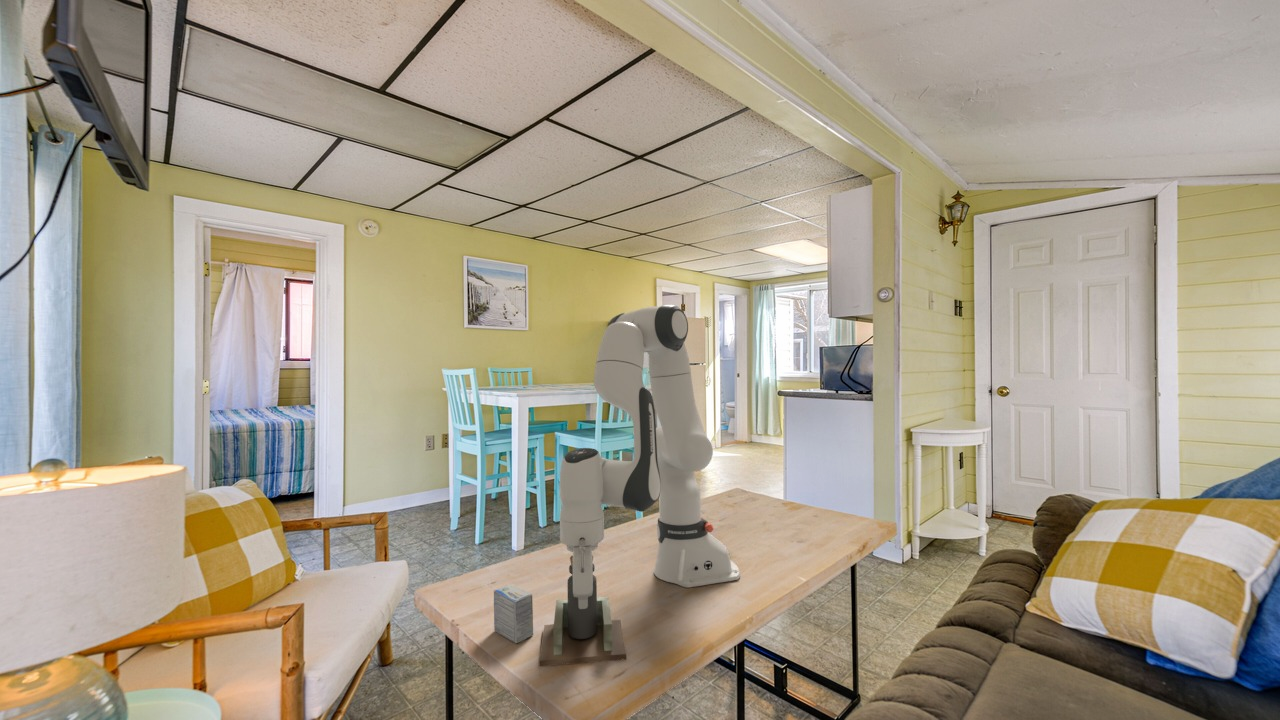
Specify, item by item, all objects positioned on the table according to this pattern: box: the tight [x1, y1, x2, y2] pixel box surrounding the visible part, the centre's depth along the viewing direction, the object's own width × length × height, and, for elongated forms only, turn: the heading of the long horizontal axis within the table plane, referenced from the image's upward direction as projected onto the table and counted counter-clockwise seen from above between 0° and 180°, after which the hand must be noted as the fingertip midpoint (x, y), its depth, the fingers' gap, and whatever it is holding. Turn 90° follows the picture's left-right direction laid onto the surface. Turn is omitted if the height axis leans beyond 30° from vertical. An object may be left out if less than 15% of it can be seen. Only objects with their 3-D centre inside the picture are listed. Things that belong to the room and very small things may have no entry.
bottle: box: [567, 554, 598, 639], centre depth 102 cm, size 6×6×15 cm
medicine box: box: [493, 583, 534, 644], centre depth 104 cm, size 8×4×9 cm, turn 48°
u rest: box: [539, 596, 627, 667], centre depth 100 cm, size 16×13×6 cm
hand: (583, 599), depth 102 cm, fingers closed on bottle, 5 cm apart
